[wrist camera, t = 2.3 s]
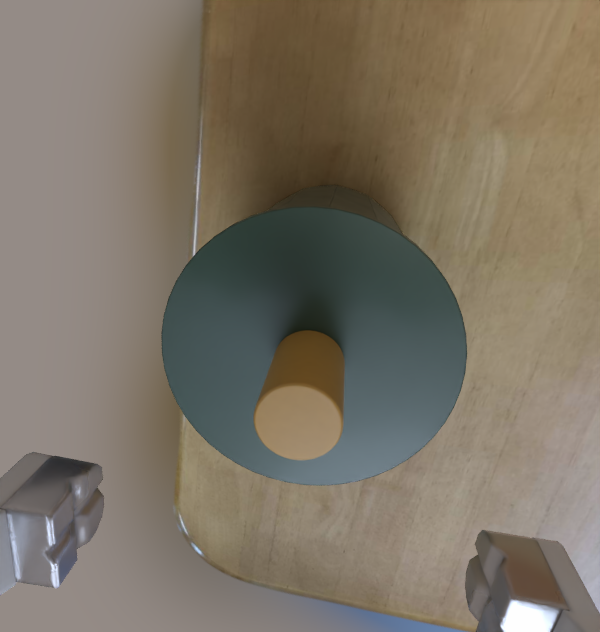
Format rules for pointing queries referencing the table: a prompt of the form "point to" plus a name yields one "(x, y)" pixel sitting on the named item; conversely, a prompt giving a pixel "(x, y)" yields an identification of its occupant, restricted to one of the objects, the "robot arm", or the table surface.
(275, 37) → the table surface
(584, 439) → the table surface
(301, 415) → the tin lid
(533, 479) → the table surface
